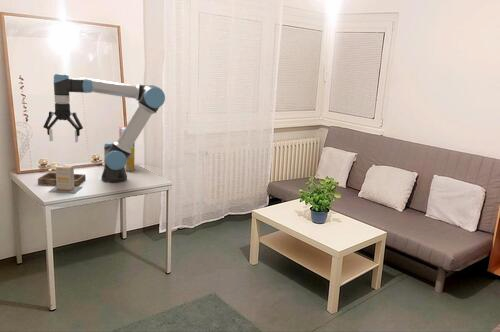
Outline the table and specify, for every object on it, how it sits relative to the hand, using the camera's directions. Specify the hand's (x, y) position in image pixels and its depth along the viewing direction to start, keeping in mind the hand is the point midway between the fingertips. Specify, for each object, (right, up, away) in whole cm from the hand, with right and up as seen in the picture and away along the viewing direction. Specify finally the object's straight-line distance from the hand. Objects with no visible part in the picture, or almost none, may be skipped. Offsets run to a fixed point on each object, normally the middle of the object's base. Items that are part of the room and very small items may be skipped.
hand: (64, 141), depth 236 cm
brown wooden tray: (-7, -23, +14) cm, 28 cm away
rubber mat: (0, -27, +1) cm, 27 cm away
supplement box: (0, -27, +1) cm, 27 cm away
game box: (+18, -15, +57) cm, 62 cm away
